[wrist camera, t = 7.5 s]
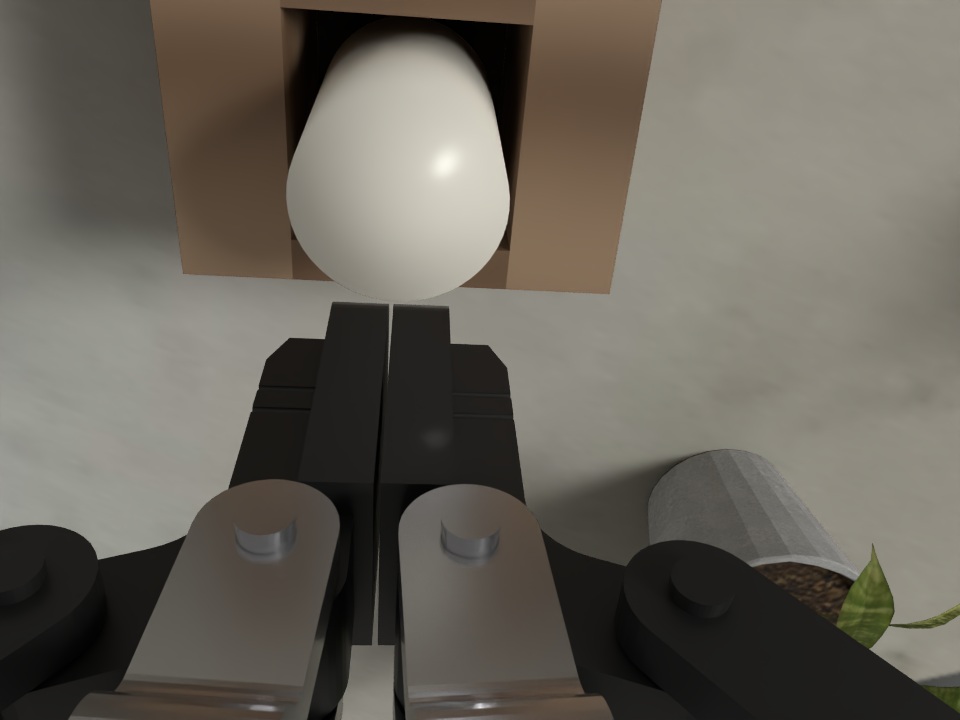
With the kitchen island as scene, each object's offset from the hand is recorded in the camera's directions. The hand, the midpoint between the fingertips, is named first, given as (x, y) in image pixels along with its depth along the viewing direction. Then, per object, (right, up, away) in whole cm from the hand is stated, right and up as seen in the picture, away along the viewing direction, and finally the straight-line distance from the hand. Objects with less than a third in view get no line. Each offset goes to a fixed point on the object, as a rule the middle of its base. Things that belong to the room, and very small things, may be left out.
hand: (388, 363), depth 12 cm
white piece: (-1, +6, +9) cm, 11 cm away
